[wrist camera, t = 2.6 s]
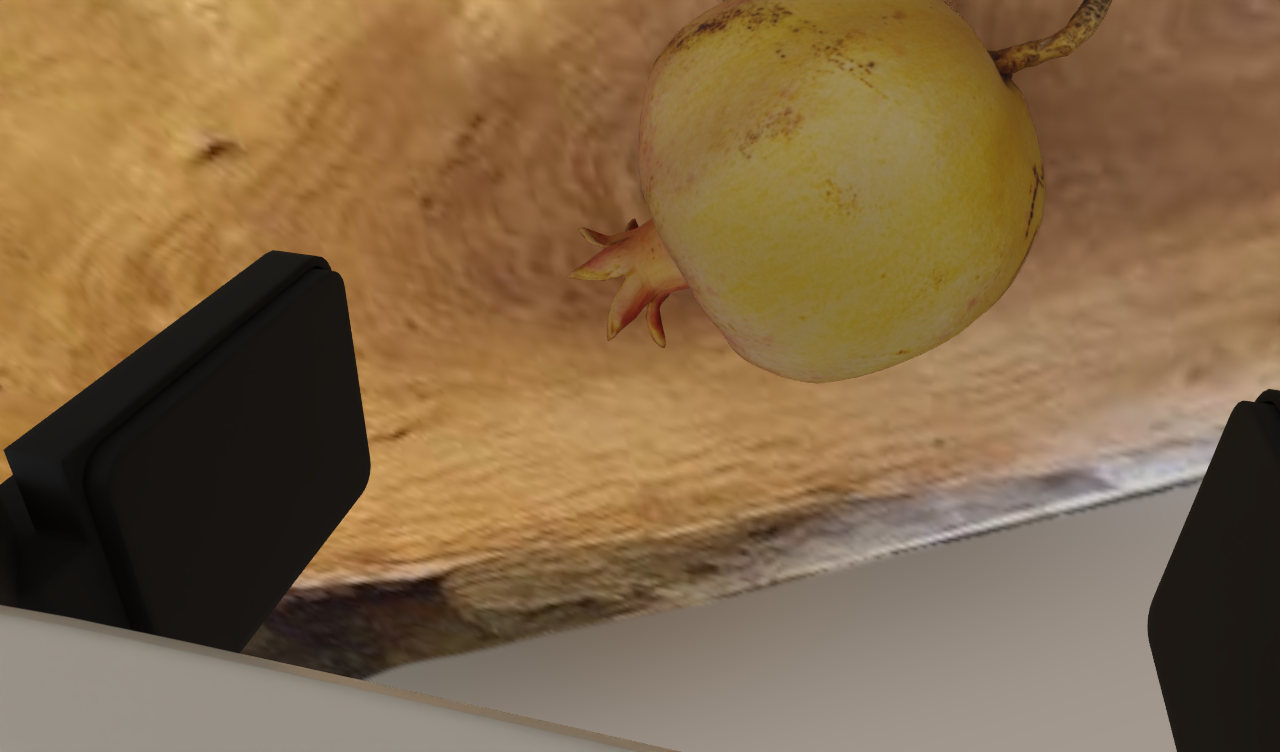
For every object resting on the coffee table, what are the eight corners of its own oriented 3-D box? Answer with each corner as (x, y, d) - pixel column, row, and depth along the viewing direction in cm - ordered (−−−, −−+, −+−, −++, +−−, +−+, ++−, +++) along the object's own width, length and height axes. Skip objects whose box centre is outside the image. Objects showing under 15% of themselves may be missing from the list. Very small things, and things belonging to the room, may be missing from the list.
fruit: (1043, -252, 11) (413, 155, 16) (1275, 293, 12) (611, 533, 16) (1040, -146, 17) (587, 125, 22) (1195, 211, 18) (726, 402, 23)
